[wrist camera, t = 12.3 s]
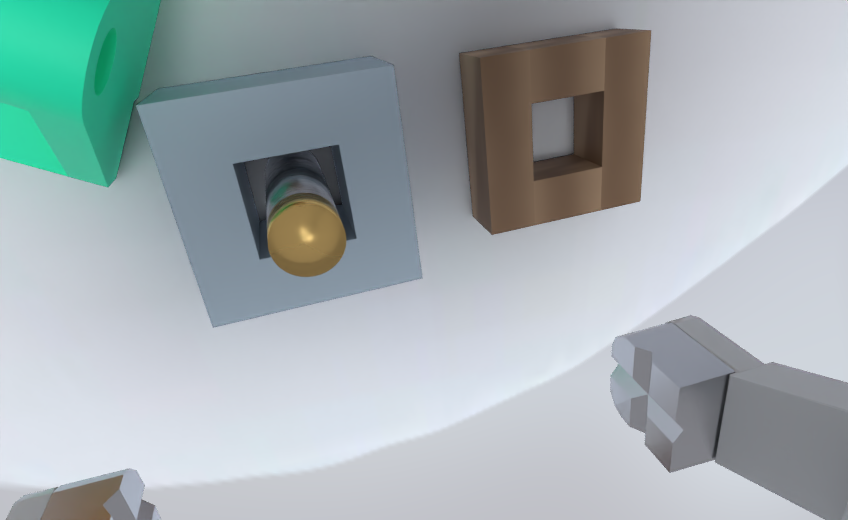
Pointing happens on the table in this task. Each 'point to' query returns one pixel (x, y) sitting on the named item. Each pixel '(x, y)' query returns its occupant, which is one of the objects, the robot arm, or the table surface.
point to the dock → (277, 135)
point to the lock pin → (301, 216)
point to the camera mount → (71, 82)
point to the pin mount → (593, 126)
